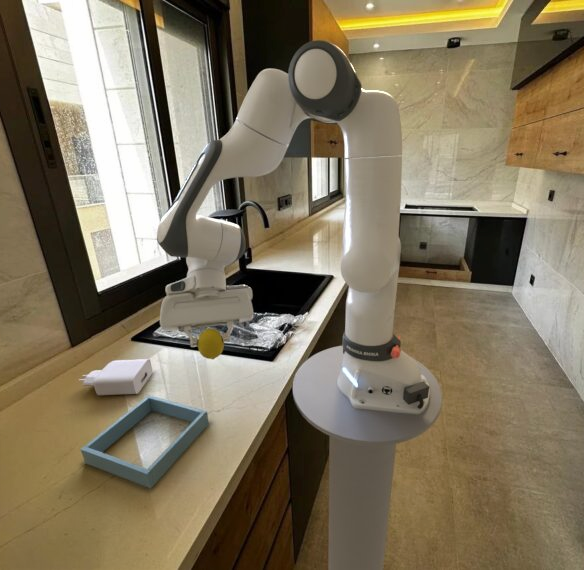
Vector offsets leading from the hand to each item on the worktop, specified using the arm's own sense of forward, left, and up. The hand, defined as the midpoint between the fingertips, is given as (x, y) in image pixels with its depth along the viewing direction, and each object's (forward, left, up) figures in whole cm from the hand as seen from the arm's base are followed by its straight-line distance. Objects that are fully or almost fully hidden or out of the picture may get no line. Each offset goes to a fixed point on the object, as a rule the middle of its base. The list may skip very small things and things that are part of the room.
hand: (210, 344), depth 73 cm
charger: (+27, +5, -15) cm, 31 cm away
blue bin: (+4, +16, -14) cm, 22 cm away
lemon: (0, -1, -5) cm, 5 cm away
